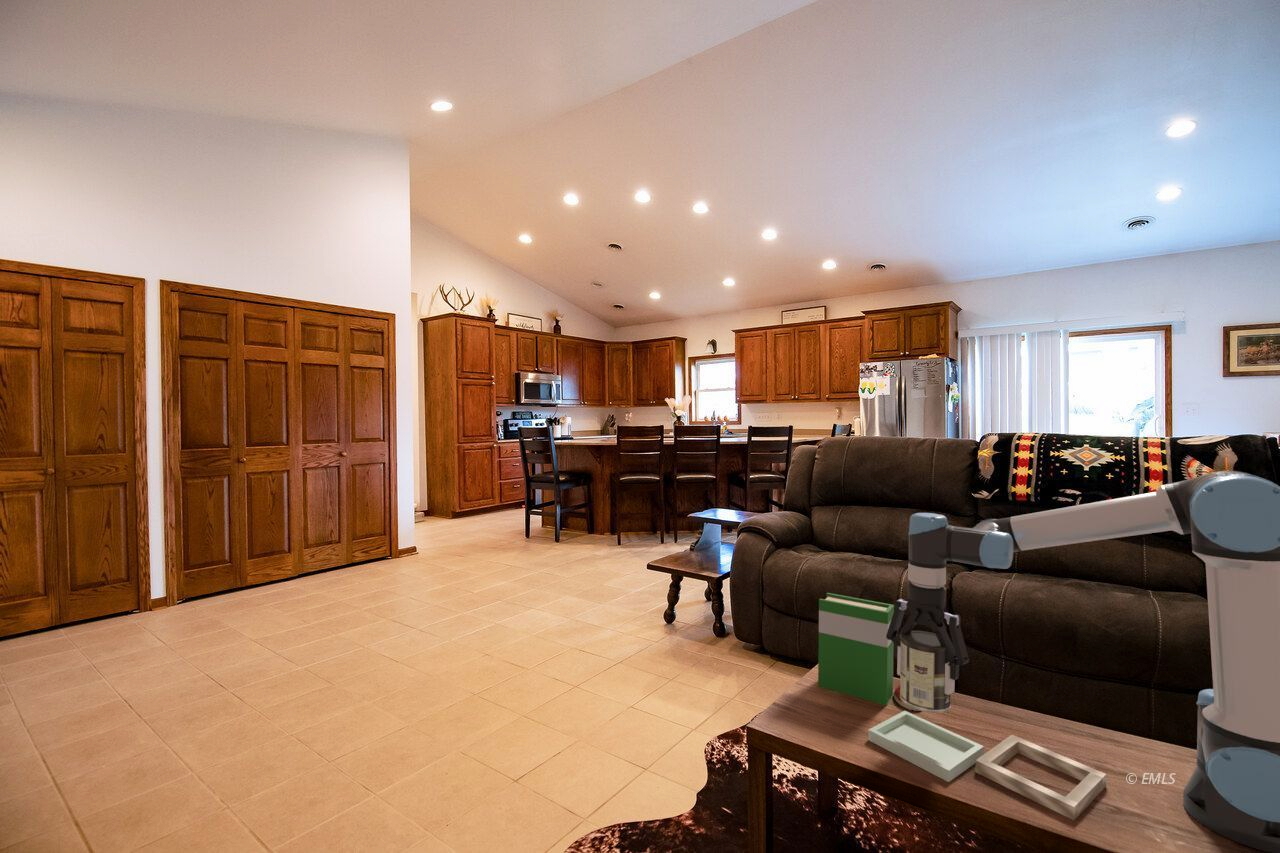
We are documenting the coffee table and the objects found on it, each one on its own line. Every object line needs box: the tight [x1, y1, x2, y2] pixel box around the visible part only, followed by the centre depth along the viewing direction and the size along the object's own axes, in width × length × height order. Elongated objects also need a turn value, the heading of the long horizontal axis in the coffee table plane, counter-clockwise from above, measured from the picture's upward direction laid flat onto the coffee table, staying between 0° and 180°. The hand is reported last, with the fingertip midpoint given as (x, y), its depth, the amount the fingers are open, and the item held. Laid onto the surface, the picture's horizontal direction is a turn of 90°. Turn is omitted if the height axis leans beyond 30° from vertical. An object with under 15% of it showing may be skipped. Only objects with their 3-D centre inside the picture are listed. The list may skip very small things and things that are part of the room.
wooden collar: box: [975, 734, 1107, 821], centre depth 114 cm, size 17×17×2 cm
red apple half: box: [893, 684, 921, 712], centre depth 146 cm, size 7×10×4 cm
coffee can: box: [899, 630, 952, 714], centre depth 125 cm, size 10×10×14 cm
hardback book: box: [817, 592, 894, 707], centre depth 152 cm, size 18×7×24 cm, turn 55°
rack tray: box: [867, 710, 985, 783], centre depth 125 cm, size 18×15×2 cm
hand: (924, 682), depth 125 cm, fingers closed on coffee can, 10 cm apart
